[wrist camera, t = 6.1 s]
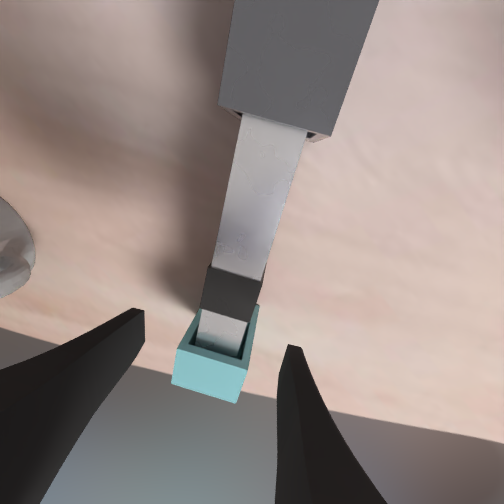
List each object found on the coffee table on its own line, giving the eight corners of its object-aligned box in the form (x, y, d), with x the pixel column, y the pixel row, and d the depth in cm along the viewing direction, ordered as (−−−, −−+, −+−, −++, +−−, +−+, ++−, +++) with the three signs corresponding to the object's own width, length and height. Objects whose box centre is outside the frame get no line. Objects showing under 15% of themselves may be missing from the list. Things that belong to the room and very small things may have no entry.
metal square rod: (337, 38, 12) (354, -2, 9) (241, 342, 20) (232, 376, 17) (271, 21, 12) (266, -25, 9) (203, 331, 20) (188, 362, 17)
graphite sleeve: (384, -70, 12) (496, -328, 6) (313, 142, 16) (330, 136, 10) (291, -94, 12) (296, -372, 6) (245, 123, 16) (217, 104, 10)
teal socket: (259, 306, 22) (247, 370, 15) (250, 334, 23) (235, 403, 17) (209, 290, 22) (177, 348, 15) (203, 319, 23) (171, 383, 17)
